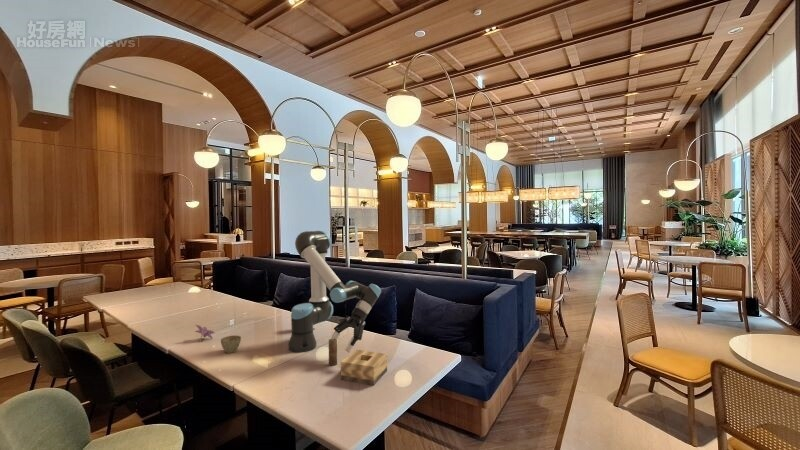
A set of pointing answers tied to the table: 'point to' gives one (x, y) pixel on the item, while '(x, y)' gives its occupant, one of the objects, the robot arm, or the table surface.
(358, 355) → the socket block
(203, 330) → the lily
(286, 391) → the table surface
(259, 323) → the table surface
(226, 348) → the flower pot
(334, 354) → the pin
